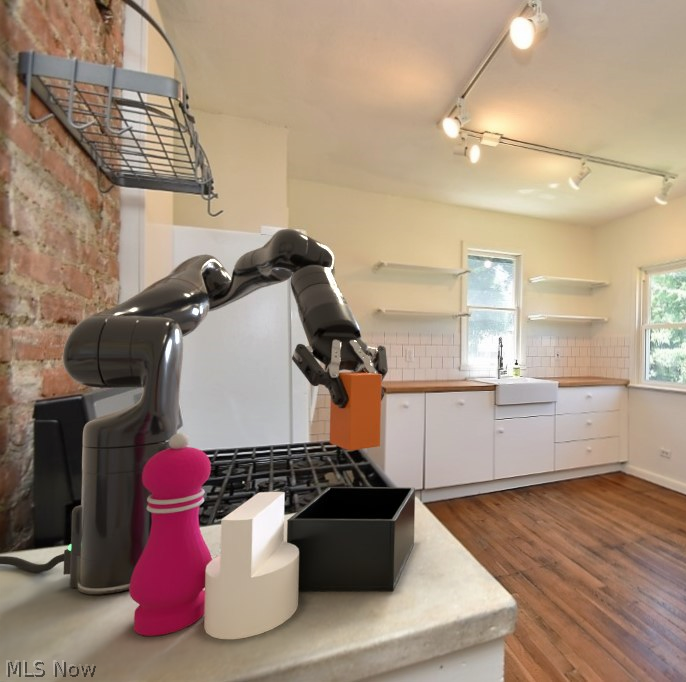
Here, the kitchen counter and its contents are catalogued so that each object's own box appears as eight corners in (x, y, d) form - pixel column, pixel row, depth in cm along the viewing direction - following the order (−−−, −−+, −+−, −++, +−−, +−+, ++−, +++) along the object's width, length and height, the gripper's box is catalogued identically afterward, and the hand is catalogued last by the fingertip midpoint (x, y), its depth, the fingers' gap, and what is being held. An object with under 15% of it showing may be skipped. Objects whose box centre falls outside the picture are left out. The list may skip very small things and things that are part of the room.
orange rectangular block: (349, 450, 59) (351, 375, 59) (329, 443, 64) (331, 372, 64) (380, 446, 62) (381, 374, 63) (358, 439, 67) (360, 372, 67)
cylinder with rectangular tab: (279, 636, 46) (282, 519, 46) (184, 642, 45) (187, 521, 45) (309, 589, 55) (311, 491, 55) (230, 592, 54) (233, 492, 54)
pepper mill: (170, 643, 45) (179, 441, 45) (108, 635, 46) (117, 437, 46) (226, 603, 52) (234, 429, 52) (171, 597, 53) (179, 426, 53)
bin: (285, 591, 54) (287, 520, 55) (327, 544, 67) (328, 486, 68) (393, 591, 55) (394, 520, 55) (414, 544, 68) (415, 487, 68)
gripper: (362, 337, 77) (397, 415, 69) (272, 334, 67) (300, 425, 59) (378, 304, 74) (417, 383, 65) (285, 296, 64) (317, 387, 55)
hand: (361, 402), depth 62 cm, fingers closed on orange rectangular block, 4 cm apart
